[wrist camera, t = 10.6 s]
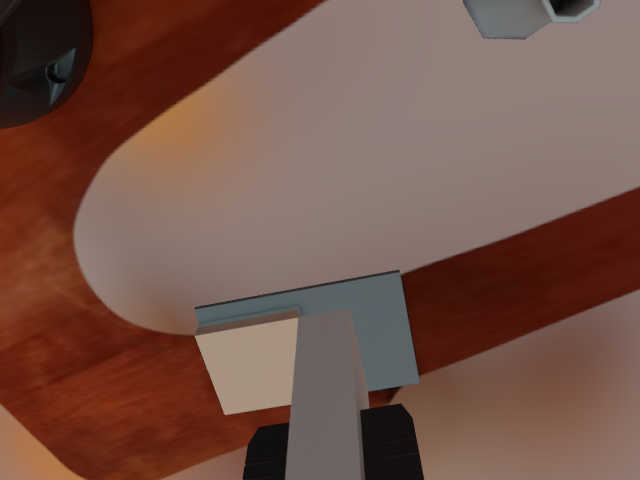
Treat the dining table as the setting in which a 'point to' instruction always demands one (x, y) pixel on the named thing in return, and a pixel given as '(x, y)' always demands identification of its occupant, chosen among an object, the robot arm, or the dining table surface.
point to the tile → (251, 358)
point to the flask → (525, 15)
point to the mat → (367, 314)
